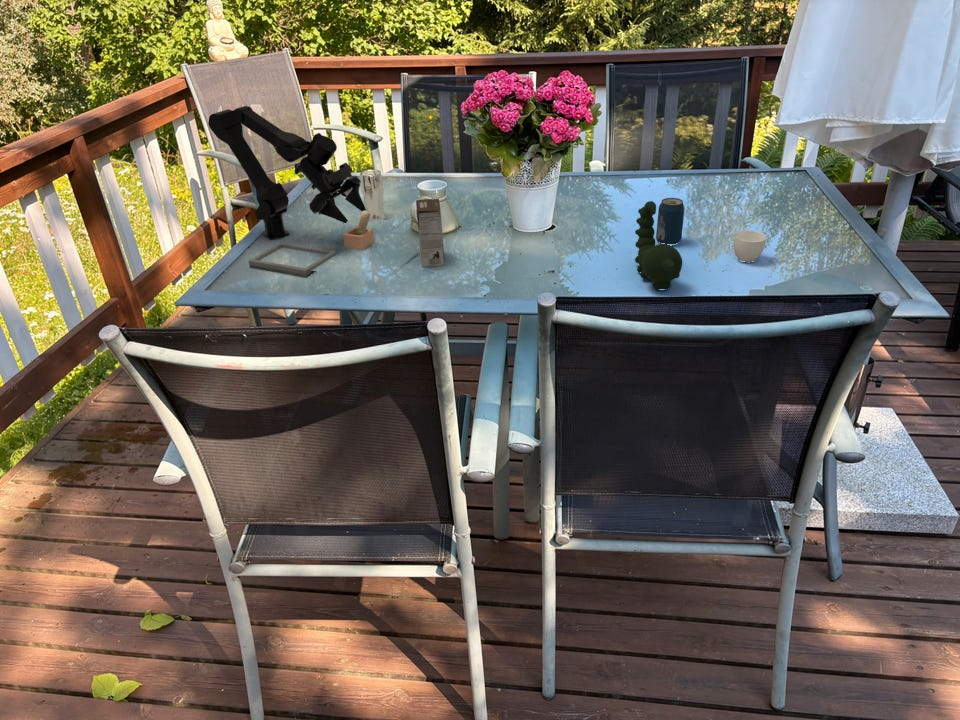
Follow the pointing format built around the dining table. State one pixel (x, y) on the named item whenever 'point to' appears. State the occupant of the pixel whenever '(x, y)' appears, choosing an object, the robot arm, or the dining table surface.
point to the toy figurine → (655, 252)
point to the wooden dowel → (363, 223)
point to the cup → (749, 245)
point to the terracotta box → (358, 239)
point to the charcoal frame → (287, 269)
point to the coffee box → (430, 232)
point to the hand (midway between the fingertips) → (356, 216)
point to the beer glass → (373, 193)
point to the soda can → (670, 221)
